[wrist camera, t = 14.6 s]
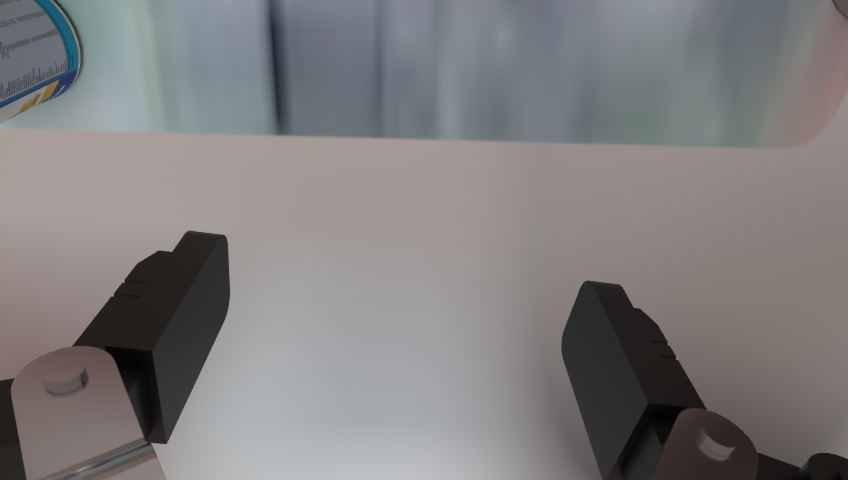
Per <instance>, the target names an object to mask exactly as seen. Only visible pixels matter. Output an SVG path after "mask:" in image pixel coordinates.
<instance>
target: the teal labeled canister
mask: <svg viewBox="0 0 848 480" xmlns="http://www.w3.org/2000/svg"><path fill="white" fill-rule="evenodd" d="M80 62H81V54H80V47H79V42H78V39H77V36H76V33H75V31H74V29H73V27H72V25H71V23H70V21H69V20H68V18H67V17H66V15H65V14H64V12H63V11H62V10H61V8H60V7H59V6H58V5H57V4H56V3H55V2H54V1H53V0H0V123H2V122H4V121H6V120H8V119H10V118H12V117H14V116H16V115H17V114H19V113H21V112H23V111H25V110H27V109H29V108H31V107H33V106H35V105H37V104H39V103H43V102H46V101H49V100H51V99H53V98H55V97H57V96H59V95H61V94H62V93H64V92H65V91H66V90H68V89H69V88H70V87H71V85H72V84H73V83H74V81H75V80H76V78H77V75H78V73H79V69H80Z"/></svg>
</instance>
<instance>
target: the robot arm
mask: <svg viewBox="0 0 848 480" xmlns="http://www.w3.org/2000/svg"><path fill="white" fill-rule="evenodd" d="M834 1H835V3H836V5H837V7H838V9H839V10H840V11H841V12H842V13H843V14H844V15H845V16H846V17H847V18H848V0H834ZM228 261H229V260H228V242H227V238H226V236H225V235H220V234H212V233H203V232H196V231H188V232H186V233H185V235H184V236H183V237H182V239H181V240H180V242H179V243H178V245H177V246H176V247H175V249H174V250H173V252H166V251H157V252H156V253H154V254H152V255H151V256H149V257H147V258H146V259H144V260H143V261H141V262H139V263H138V264H137V265H136V266H135V267H134V269H133V270H132V271H131V272H130V274H129V275H128V276H127V277H126V279H125V282H124V283H122V284H121V285H120V286H119V288H118V289H117V290H116V291H115V293H114V297H111V298H110V299H109V300H108V302H107V303H106V304H105V305H104V307H103V308H102V309H101V310H100V312H99V313H98V314H97V316H96V317H95V318H94V319H93V321H92V322H91V323H90V324H89V326H88V327H87V328H86V329H85V331H84V332H83V333H82V335H81V336H80V337H79V338H78V340H77V341H76V342H75V344H74V345H73V346H72V347H67V348H62V349H58V350H55V351H52V352H49V353H47V354H45V355H42V356H40V357H38V358H37V359H35V360H34V361H32V362H30V363H29V364H28V365H26V366H25V367H24V368H23V369H22V370H21V371H20V372H19V373H18V375H17V376H16V377H15V378H14V379H8V380H3V381H0V480H166V478H165V475H164V473H163V471H162V468H161V465H160V462H159V460H158V457H157V455H156V452H155V450H154V448H153V446H152V444H151V443H160V444H167V442H168V440H169V438H170V436H171V434H172V431H173V429H174V427H175V425H176V423H177V421H178V419H179V416H180V414H181V412H182V410H183V408H184V406H185V404H186V401H187V399H188V397H189V395H190V393H191V391H192V389H193V387H194V385H195V382H196V380H197V378H198V376H199V374H200V372H201V369H202V367H203V365H204V363H205V361H206V359H207V357H208V355H209V352H210V350H211V348H212V346H213V344H214V342H215V340H216V337H217V335H218V333H219V331H220V329H221V327H222V325H223V322H224V320H225V318H226V315H227V311H228V306H229V299H230V281H229V262H228ZM667 343H668V342H667V340H666V339H665V337H664V335H663V333H662V332H661V330H660V328H659V326H658V325H657V324H656V323H655V322H654V321H653V320H652V319H651V318H650V317H649V316H647V315H646V314H645V313H644V312H643V311H642V310H641V309H638V308H633V306H632V304H631V302H630V300H629V298H628V297H627V295H626V293H625V291H624V289H623V288H622V287H621V286H620V285H619V284H611V283H603V282H595V281H585V282H584V283H583V284H582V286H581V288H580V290H579V293H578V296H577V298H576V301H575V303H574V306H573V308H572V311H571V313H570V316H569V319H568V321H567V324H566V326H565V329H564V332H563V336H562V356H563V360H564V363H565V366H566V369H567V372H568V375H569V378H570V381H571V384H572V387H573V391H574V394H575V397H576V400H577V403H578V406H579V409H580V412H581V415H582V418H583V421H584V424H585V427H586V431H587V434H588V436H589V440H590V443H591V446H592V449H593V452H594V455H595V458H596V461H597V464H598V467H599V470H600V473H601V477H602V479H603V480H848V459H846V458H844V457H841V456H838V455H835V454H830V453H818V454H815V455H813V456H811V457H810V458H809V459H808V461H807V462H806V463H805V464H804V465H803V467H802V468H799V467H796V466H793V465H791V464H788V463H785V462H783V461H780V460H777V459H774V458H771V457H769V456H766V455H763V454H760V453H758V452H757V450H756V447H755V446H754V444H753V442H752V441H751V440H750V438H749V437H748V436H747V435H746V434H745V433H744V432H743V430H741V429H740V428H739V427H738V426H737V425H736V424H734V423H733V422H731V421H730V420H728V419H727V418H725V417H723V416H721V415H719V414H717V413H715V412H712V411H709V410H707V409H706V407H705V406H704V404H703V402H702V401H701V399H700V398H699V395H698V394H697V392H696V390H695V388H694V387H693V385H692V383H691V382H690V380H689V378H688V377H687V375H686V373H685V371H684V370H683V368H682V366H681V364H680V363H679V361H678V360H676V356H675V354H674V352H673V351H672V349H671V347H670V346H668V345H667ZM146 442H148V443H146Z"/></svg>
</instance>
